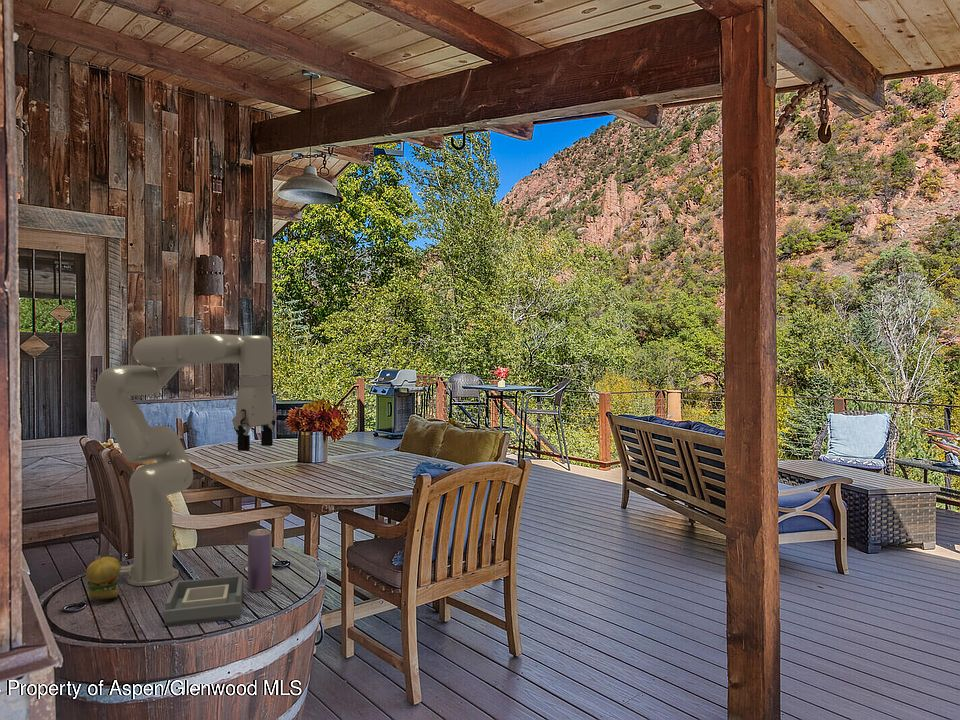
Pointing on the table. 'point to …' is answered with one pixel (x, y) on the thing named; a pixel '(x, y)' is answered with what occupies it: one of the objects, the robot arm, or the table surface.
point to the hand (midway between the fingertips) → (255, 448)
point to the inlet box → (204, 600)
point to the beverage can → (259, 560)
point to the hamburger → (103, 577)
